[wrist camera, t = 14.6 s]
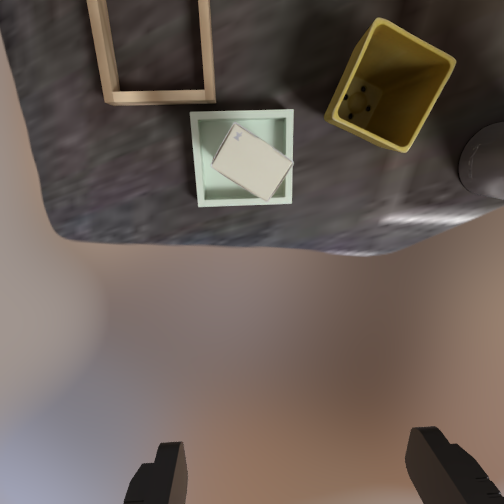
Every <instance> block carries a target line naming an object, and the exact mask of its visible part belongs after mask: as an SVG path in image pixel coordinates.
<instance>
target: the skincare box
mask: <svg viewBox="0 0 504 504" xmlns="http://www.w3.org/2000/svg"><path fill="white" fill-rule="evenodd" d="M293 165H294V162H293V161H292V160H291V159H290V158H288V157H287V156H285V155H284V154H282V153H281V152H280V151H278V150H277V149H275V148H274V147H272V146H271V145H269V144H268V143H267V142H265V141H264V140H262V139H261V138H259V137H258V136H256V135H255V134H253V133H252V132H250V131H249V130H247V129H246V128H244V127H243V126H241V125H240V124H238V123H237V122H234V123H233V125H232V126H231V128H230V130H229V131H228V133H227V135H226V136H225V138H224V140H223V142H222V143H221V145H220V147H219V149H218V151H217V153H216V154H215V156H214V158H213V160H212V162H211V164H210V166H211V168H213V169H214V170H216V171H217V172H218V173H220V174H221V175H223V176H224V177H226V178H227V179H229V180H230V181H232V182H233V183H235V184H237V185H238V186H240V187H242V188H243V189H245V190H247V191H248V192H250V193H252V194H253V195H255V196H257V197H259V198H260V199H262V200H264V201H266V202H268V201H269V200H270V199H271V197H272V196H273V194H274V193H275V192H276V190H277V189H278V187H279V186H280V184H281V183H282V181H283V180H284V178H285V177H286V176H287V174H288V172H289V171H290V169H291V168H292V166H293Z"/></svg>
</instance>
